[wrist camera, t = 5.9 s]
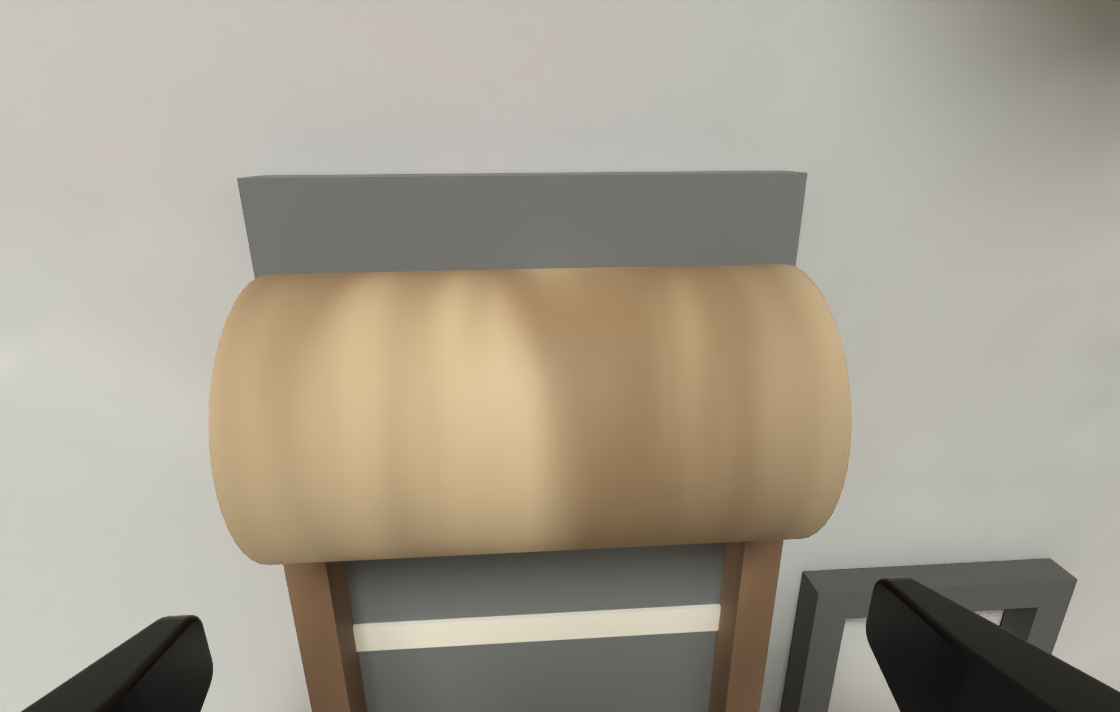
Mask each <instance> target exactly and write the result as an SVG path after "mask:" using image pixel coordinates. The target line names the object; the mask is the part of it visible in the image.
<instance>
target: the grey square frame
mask: <svg viewBox="0 0 1120 712" xmlns="http://www.w3.org/2000/svg"><path fill="white" fill-rule="evenodd" d="M886 577H909V578H912V579H914V580H916V581H918V582H919V583H921V584H923V585H925V586H927V587H929V588H930V589H932V590H934V591H936V592H938V593H940V594H941V595H943V596H945V597H947V598H949V599H951V600H952V601H954V602H956V603H958V604H960V605H962V606H963V607H965V608H967V609H969V610H971V611H982V610H999V609H1006V610H1005V614H1004V617H1003V620H1002V624H1001V627H1002V628H1004V629H1005V630H1007V631H1009V632H1011V633H1013V634H1015V635H1016V636H1018V637H1020V638H1022V639H1024V640H1026V641H1027V642H1029V643H1031V644H1033V645H1035V646H1036V647H1038V648H1040V649H1042V650H1044V651H1046V652H1047V653H1049V654H1052V651H1053V648H1054V646H1055V643H1056V640H1057V637H1058V634H1059V631H1060V628H1061V625H1062V623H1063V620H1064V617H1065V614H1066V611H1067V608H1068V605H1069V602H1070V600H1071V597H1072V594H1073V591H1074V588H1075V585H1076V582H1077V579H1076V578H1075V577H1074V576H1072V575H1071V574H1070V573H1068V572H1067V571H1066V570H1065V569H1063V568H1062V567H1061V566H1059V565H1058V564H1057V563H1055V562H1054V561H1053V560H1052V559H1050V558H1048V559H1029V560H1010V561H991V562H972V563H953V564H934V565H915V566H896V567H877V568H858V569H839V570H820V571H803V577H802V583H801V590H800V596H799V602H798V608H797V615H796V621H795V627H794V634H793V640H792V646H791V653H790V659H789V665H788V671H787V678H786V684H785V690H784V697H783V703H782V709H781V712H828V707H829V701H830V696H831V691H832V686H833V681H834V676H835V670H836V665H837V660H838V655H839V650H840V645H841V639H842V634H843V629H844V624H845V619H846V618H861V617H867V616H868V611H869V606H870V601H871V596H872V592H873V587H874V584H875V583H876V581H877V580H878V579H880V578H886Z"/></svg>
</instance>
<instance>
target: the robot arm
mask: <svg viewBox="0 0 1120 712" xmlns="http://www.w3.org/2000/svg"><path fill="white" fill-rule="evenodd" d="M866 635H867V639H868V642H869V645H870V647H871V649H872V651H873V654H874V656H875V658H876V660H877V662H878V664H879V667H880V669H881V671H882V673H883V675H884V677H885V679H886V682H887V684H888V686H889V688H890V690H891V692H892V695H893V697H894V699H895V701H896V703H897V705H898V708H899V710H900V712H1120V692H1119V691H1117V690H1115V689H1113V688H1111V687H1110V686H1108V685H1106V684H1104V683H1102V682H1100V681H1099V680H1097V679H1095V678H1093V677H1091V676H1090V675H1088V674H1086V673H1084V672H1082V671H1080V670H1079V669H1077V668H1075V667H1073V666H1071V665H1069V664H1068V663H1066V662H1064V661H1062V660H1060V659H1058V658H1057V657H1055V656H1053V655H1051V654H1049V653H1047V652H1046V651H1044V650H1042V649H1040V648H1038V647H1036V646H1035V645H1033V644H1031V643H1029V642H1027V641H1026V640H1024V639H1022V638H1020V637H1018V636H1016V635H1015V634H1013V633H1011V632H1009V631H1007V630H1005V629H1004V628H1002V627H1000V626H998V625H996V624H994V623H993V622H991V621H989V620H987V619H985V618H983V617H982V616H980V615H978V614H976V613H974V612H973V611H971V610H969V609H967V608H965V607H963V606H962V605H960V604H958V603H956V602H954V601H952V600H951V599H949V598H947V597H945V596H943V595H941V594H940V593H938V592H936V591H934V590H932V589H930V588H929V587H927V586H925V585H923V584H921V583H919V582H918V581H916V580H914V579H912V578H909V577H886V578H880V579H878V580H877V581H876V583H875V584H874V587H873V592H872V596H871V601H870V606H869V611H868V616H867V620H866ZM212 675H213V662H212V658H211V654H210V650H209V647H208V643H207V639H206V635H205V631H204V628H203V624H202V622H201V620H200V619H199V618H198V617H197V616H194V615H181V616H167V617H163V618H160V619H159V620H157V621H155V622H154V623H152V624H151V625H149V626H148V627H146V628H145V629H143V630H142V631H140V632H139V633H137V634H136V635H134V636H133V637H131V638H130V639H128V640H127V641H125V642H124V643H122V644H121V645H120V646H118V647H117V648H115V649H114V650H112V651H111V652H109V653H108V654H106V655H105V656H103V657H102V658H100V659H99V660H97V661H96V662H94V663H93V664H91V665H90V666H88V667H87V668H85V669H84V670H82V671H81V672H79V673H78V674H76V675H75V676H73V677H72V678H70V679H69V680H67V681H66V682H64V683H63V684H61V685H60V686H59V687H57V688H56V689H54V690H53V691H51V692H50V693H48V694H47V695H45V696H44V697H42V698H41V699H39V700H38V701H36V702H35V703H33V704H32V705H30V706H29V707H27V708H26V709H24V710H23V711H21V712H200V711H201V709H202V706H203V703H204V701H205V698H206V695H207V692H208V690H209V687H210V684H211V680H212Z"/></svg>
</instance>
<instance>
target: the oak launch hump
mask: <svg viewBox="0 0 1120 712" xmlns="http://www.w3.org/2000/svg"><path fill="white" fill-rule="evenodd" d="M850 443H851V397H850V386H849V377H848V371H847V365H846V359H845V355H844V351H843V347H842V342H841V338H840V335H839V332H838V329H837V326H836V323H835V320H834V318H833V315H832V313H831V311H830V309H829V306H828V304H827V302H826V300H825V299H824V297H823V295H822V293H821V292H820V290H819V289H818V287H817V286H816V285H815V283H814V282H813V281H812V279H811V278H810V277H808V276H807V275H806V274H805V273H804V272H803V271H802V270H800V269H798V268H796V267H795V266H792V265H788V264H755V265H703V266H651V267H600V268H548V269H497V270H445V271H393V272H342V273H290V274H265V275H262V276H259V277H257V278H256V279H255V280H253V281H252V282H250V283H249V284H248V285H247V286H246V287H245V289H244V290H243V291H242V292H241V294H240V295H239V297H238V298H237V300H236V301H235V303H234V305H233V307H232V309H231V311H230V313H229V315H228V317H227V320H226V323H225V325H224V328H223V331H222V334H221V337H220V341H219V345H218V349H217V352H216V357H215V363H214V368H213V374H212V381H211V391H210V402H209V445H210V457H211V466H212V474H213V479H214V484H215V490H216V494H217V498H218V502H219V505H220V509H221V512H222V515H223V518H224V520H225V523H226V525H227V528H228V530H229V532H230V534H231V535H232V537H233V539H234V541H235V543H236V544H237V545H238V547H239V548H240V549H241V550H242V552H243V553H244V554H245V555H246V556H248V557H249V558H250V559H251V560H253V561H255V562H257V563H259V564H266V565H274V564H295V563H315V562H335V561H356V560H376V559H396V558H417V557H437V556H458V555H478V554H498V553H519V552H539V551H559V550H580V549H600V548H621V547H641V546H661V545H682V544H702V543H722V542H743V541H763V540H784V539H801V538H806V537H809V536H811V535H813V534H815V533H817V532H818V531H819V530H820V529H821V528H822V527H823V526H824V525H825V524H826V522H827V521H828V519H829V518H830V516H831V515H832V513H833V511H834V509H835V507H836V505H837V503H838V500H839V497H840V494H841V491H842V488H843V485H844V481H845V476H846V472H847V467H848V460H849V453H850Z"/></svg>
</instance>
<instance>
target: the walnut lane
mask: <svg viewBox="0 0 1120 712" xmlns="http://www.w3.org/2000/svg"><path fill="white" fill-rule="evenodd" d="M782 546H783V540H763V541H743V542H726V545H725V554H724V564H723V574H722V583H721V593H720V603H719V604H720V606H721V609H720V619H719V628H718V631H716V641H715V651H714V660H713V670H712V680H711V689H710V699H709V709H708V712H759V707H760V700H761V693H762V686H763V679H764V672H765V665H766V658H767V651H768V644H769V637H770V630H771V623H772V616H773V609H774V602H775V595H776V588H777V581H778V574H779V567H780V560H781V553H782ZM283 565H284V571H285V576H286V581H287V586H288V591H289V596H290V601H291V606H292V611H293V617H294V622H295V627H296V632H297V637H298V642H299V647H300V652H301V657H302V663H303V668H304V673H305V678H306V683H307V688H308V693H309V698H310V703H311V709H312V712H367V706H366V699H365V693H364V686H363V680H362V673H361V667H360V660H359V654H358V652H357V651H356V645H355V638H354V632H353V626H354V621H353V615H352V608H351V602H350V595H349V589H348V582H347V576H346V569H345V563H344V561H335V562H315V563H295V564H283Z"/></svg>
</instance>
